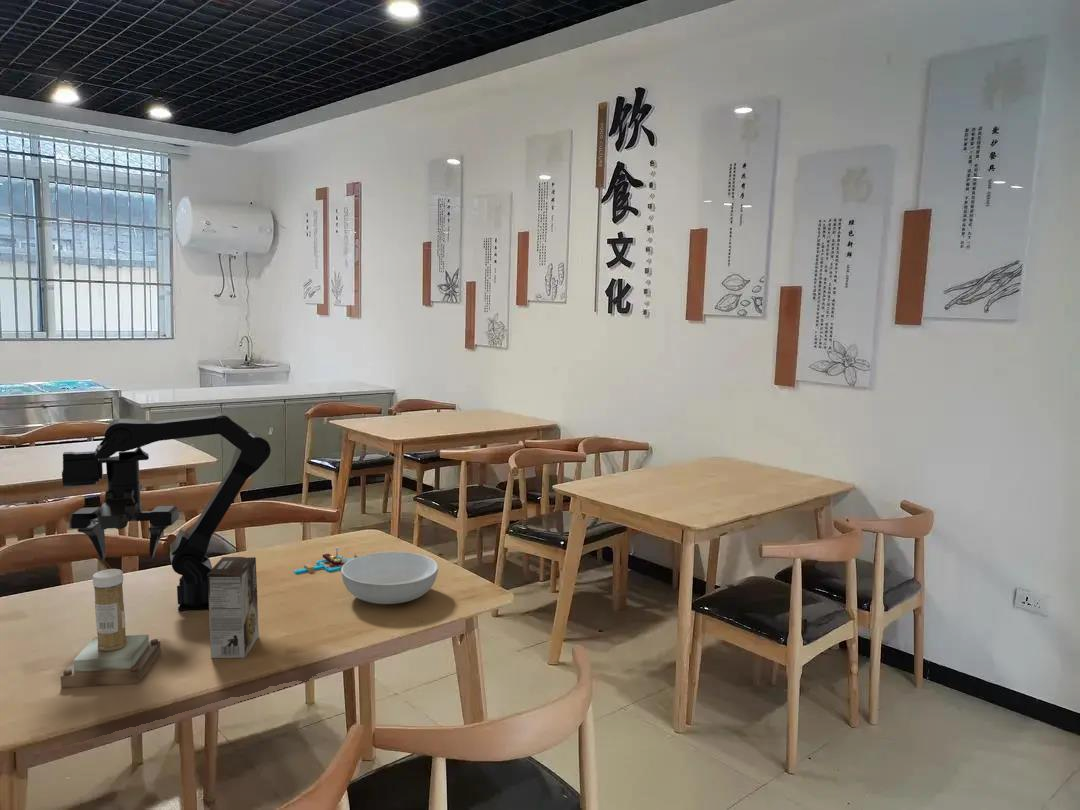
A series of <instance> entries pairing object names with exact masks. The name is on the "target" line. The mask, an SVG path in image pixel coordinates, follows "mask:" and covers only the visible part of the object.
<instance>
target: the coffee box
mask: <svg viewBox="0 0 1080 810" xmlns="http://www.w3.org/2000/svg"><path fill="white" fill-rule="evenodd" d="M212 568H213V569H212V570H211V571H210V572H209V573H208V574H207V575H208V595H209V609H208V616H209V617H208V618H209V620H208V621H209V641H210V642H209V643H210V645H209V646H210V658H211V659H235V658H236V659H242V658H243V659H244V658H247V655H248V654H249V653H250V651H251V649H252V648H253V646H254V644H255V643H256V642H257V639H258V638H259V635H260V634H259V633H260V631H259V609H258V607H259V606H258V584H257V583H258V581H257V558H256V557H255V556H254V557H250V556H249V557H245V556H223V557H221V558H220V559H219V560H218V562H216V564H215V565H214V566H212Z"/></svg>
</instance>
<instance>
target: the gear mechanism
mask: <svg viewBox="0 0 1080 810" xmlns="http://www.w3.org/2000/svg"><path fill="white" fill-rule="evenodd" d="M363 555H364V554H362V553H359V552H358V553H354V556H353V558H348V559H347V558H345V557H344V556H341V555H339V548H338V547H335V555H331V554H330V553H324V554H322V558H323V559H320V560H316V565H315V566H314V565H312V564H311V563H306V564H303V568H300V569H295V570H294V571H293V573H294V574H295V575H300V574H305V573H308V574H309V573H310V574H311V573H314V572H315V571H318V570H319V571H320V570H324V571H326V572H327V573H333V572H337V571H341V568H342V566H343V565H344V564H345V563H346V562H348V561H350V560H351V559H354V558H356V557H359V556H363ZM318 565H319V566H318Z"/></svg>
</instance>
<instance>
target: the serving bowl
mask: <svg viewBox="0 0 1080 810" xmlns="http://www.w3.org/2000/svg"><path fill="white" fill-rule="evenodd" d="M362 555H363V556H359V557H356V558H354V557H353V558H354V559H352V558H350V559H351V560H350V561H348V562H346V563H345V564H344V565H341V566H342V568H341V570H340V572H341V577H342V578H341V579H342V582H343V584H344V587H345V588H346V590H347V591H348V592H349V593H350V594H351V595H352V596H353V597H355V598H357V599H359V600H361V601H363V602H367V603H371V604H378V605H395V604H402V603H403V604H404V603H406V602H411V601H413V600H416V599H419V598H420V597H423V595H425V594H426V593H427V592H429V591H430V589H432V587H433V586H434V584H435V582H436V580H437V576H438V573H439V564H438V563H437V562H436V561H435V560H434V559H432V558H431V557H429V556H426V555H423V554H420V553H415V552H407V551H380V552H379V551H378V552H373V553H368V554H362Z"/></svg>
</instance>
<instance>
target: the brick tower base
mask: <svg viewBox="0 0 1080 810" xmlns="http://www.w3.org/2000/svg"><path fill="white" fill-rule="evenodd" d="M149 639H150V638H149V634H133V635H132V634H130V635H126V640H127V643H126V645H125V646H124V647H122V648H120V649H117V650H113V651H101V650H99V649H98V636H94V637H93V638H92V639H91V640H90V642H89V643H88V644H86V646H84V648H83V649H82V650H81V651H80V652H79V653H78V655H76V657H75V658H74V659H73V661H72V663H71V664H70V665H69V666H68V667H67V669H65V670H63V672H62V674H61V675H60V676H59V677H60V688H62V689H64V688H79V687H80V688H82V687H96V686H98V685H100V686H112V685H113V686H117V685H129V684H140V682H141V681H142V679H143V678H144V677H145V675H146V674H147V672H148V671H149V669H150V668H151V666H152V665H153V664H154V662H155V660H156V659H157V658H158V656H159V655H160V653H161V652H162V648H161V646H162V644H161V640H159V639H158V638H153V639H151V640H149Z"/></svg>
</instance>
